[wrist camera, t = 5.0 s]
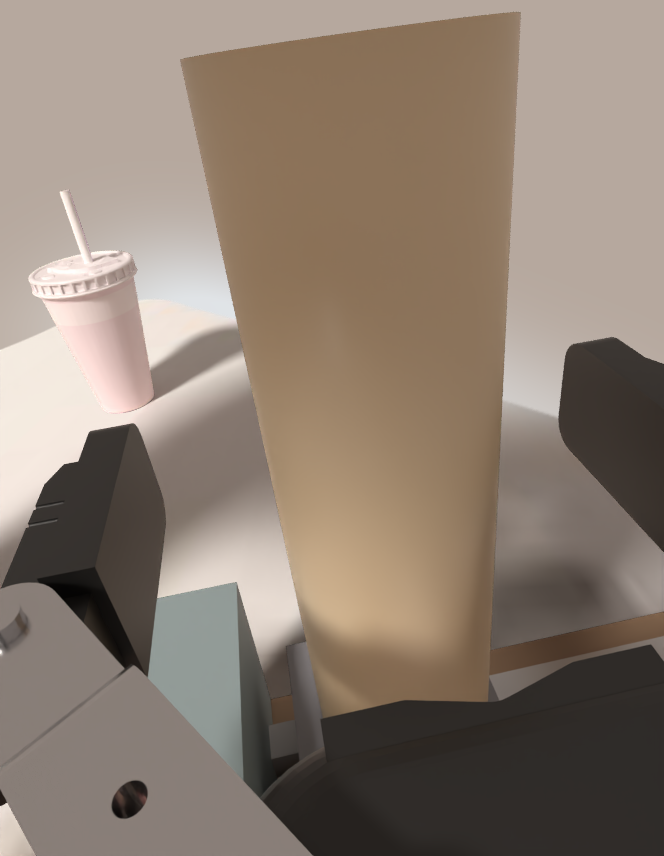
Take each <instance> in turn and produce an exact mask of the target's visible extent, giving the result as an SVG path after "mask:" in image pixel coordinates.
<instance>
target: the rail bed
mask: <svg viewBox="0 0 664 856" xmlns="http://www.w3.org/2000/svg"><path fill="white" fill-rule="evenodd" d="M650 644H651V645H652V646H653V647H654V649H655V650H656V651H657V653H658V654H659V655H660V657H661V658H662V659H663V661H664V612H660V613H656V614H651V615H647V616H642V617H638V618H633V619H629V620H624V621H620V622H615V623H611V624H606V625H602V626H597V627H593V628H588V629H584V630H579V631H575V632H570V633H566V634H561V635H557V636H552V637H548V638H543V639H539V640H535V641H530V642H526V643H521V644H517V645H512V646H508V647H503V648H499V649H494V650H490V668H489V678H490V680H491V682H492V685H493V687H494V689H495V691H496V694H497V696H498V698H499V700H503V699H505V698H507V697H509V696H511V695H513V694H515V693H517V692H518V691H520V690H522V689H524V688H526V687H528V686H529V685H531V684H533V683H535V682H537V681H539V680H540V679H542V678H544V677H546V676H548V675H550V674H551V673H553V672H555V671H557V670H559V669H561V668H562V667H564V666H566V665H568V664H570V663H572V662H575V661H579V660H583V659H588V658H592V657H597V656H601V655H606V654H610V653H614V652H619V651H623V650H628V649H632V648H636V647H641V646H645V645H650ZM271 709H272V721H273V725H269V736H270V749H271V760H272V763H273V766H274V769H275V772H276V775H277V779H278V778H279V777H280V776H282V775H283V774H284V773H285V772H286V771H287V770H288V769H289V768H291V767H292V766H294V765H295V764H297V763H298V762H299V761H300V760H299V752H298V743H297V735H296V726H295V718H294V709H293V701H292V695H288V696H283V697H279V698H274V699H271Z"/></svg>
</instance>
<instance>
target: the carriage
mask: <svg viewBox="0 0 664 856" xmlns="http://www.w3.org/2000/svg"><path fill="white" fill-rule="evenodd" d="M520 19H521V12H510V13H500V14H491V15H481V16H473V17H464V18H457V19H449V20H440V21H433V22H425V23H417V24H409V25H402V26H395V27H387V28H379V29H372V30H365V31H358V32H351V33H343V34H336V35H330V36H322V37H316V38H309V39H301V40H295V41H288V42H281V43H275V44H268V45H261V46H255V47H248V48H242V49H235V50H229V51H223V52H217V53H211V54H205V55H199V56H194V57H189V58H184V59H181V60H180V61H181V66H182V71H183V75H184V80H185V85H186V89H187V93H188V98H189V103H190V107H191V112H192V116H193V121H194V126H195V131H196V135H197V140H198V144H199V149H200V154H201V158H202V163H203V167H204V172H205V177H206V181H207V185H208V191H209V195H210V200H211V204H212V209H213V214H214V218H215V223H216V228H217V232H218V237H219V241H220V246H221V251H222V255H223V260H224V264H225V269H226V274H227V278H228V283H229V287H230V292H231V297H232V301H233V306H234V311H235V315H236V320H237V324H238V329H239V334H240V338H241V343H242V348H243V352H244V357H245V361H246V366H247V371H248V375H249V380H250V384H251V389H252V394H253V398H254V403H255V407H256V412H257V417H258V421H259V426H260V431H261V435H262V440H263V444H264V449H265V454H266V458H267V463H268V467H269V472H270V477H271V481H272V486H273V491H274V495H275V500H276V504H277V509H278V514H279V518H280V523H281V527H282V532H283V537H284V541H285V546H286V551H287V555H288V560H289V564H290V569H291V574H292V578H293V583H294V587H295V592H296V597H297V601H298V606H299V610H300V615H301V620H302V624H303V629H304V634H305V638H306V642H302V643H298V644H293V645H289V646H286V650H287V658H288V667H289V675H290V684H291V692H292V701H293V709H294V718H295V726H296V735H297V743H298V752H299V760H300V761H301V760H302V759H304V758H305V757H306V756H308V755H310V754H312V753H313V752H315V751H317V750H319V749H321V748H322V747H324V741H323V735H322V729H321V722H320V719H323V718H327V717H332V716H336V715H340V714H345V713H349V712H354V711H358V710H363V709H367V708H371V707H376V706H380V705H385V704H389V703H393V702H398V701H402V700H422V701H466V702H496V701H500V700H499V698H498V696H497V694H496V691H495V689H494V687H493V685H492V682H491V680H490V678H489V668H490V647H491V626H492V605H493V584H494V563H495V542H496V521H497V500H498V479H499V458H500V438H501V417H502V396H503V375H504V353H505V332H506V310H507V290H508V270H509V269H508V268H509V249H510V228H511V227H510V226H511V207H512V185H513V165H514V144H515V123H516V101H517V82H518V61H519V39H520Z"/></svg>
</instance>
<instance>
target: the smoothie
mask: <svg viewBox="0 0 664 856" xmlns="http://www.w3.org/2000/svg"><path fill="white" fill-rule="evenodd" d="M60 195H61V198H62V200H63V203H64V206H65V209H66V212H67V214H68V218H69V221H70V223H71V226H72V229H73V232H74V235H75V238H76V241H77V244H78V247H79V249H80V252H81V254H80V255H75V256H72V257H67V258H64V259H60V260H57V261H54V262H51V263H49V264H47V265H44V266H42V267H40V268H38V269H37V270H35V271H34V272H32V273H31V275H30V276H29V278H28V280H29V282H30V284H31V287H32V290H33V291H32V293H33V295H35V296H36V297H39V298H41V299H42V300H43V302H44V304H45V306H46V308H47V309H48V311H49V313H50V315H51V317H52V319H53V321H54V322H55V324H56V326H57V328H58V329H59V331H60V333H61V335H62V337H63V339H64V340H65V342H66V344H67V346H68V348H69V349H70V351H71V353H72V355H73V357H74V359H75V360H76V362H77V364H78V366H79V368H80V369H81V371H82V373H83V375H84V377H85V379H86V380H87V382H88V384H89V386H90V388H91V389H92V391H93V393H94V395H95V397H96V399H97V400H98V402H99V404H100V406H101V408H102V409H103V410H104V411H105V412H108V413H124V412H129V411H133V410H135V409H138V408H140V407H142V406H144V405H146V404H147V403H148V402H150V401H151V400H152V398H153V397H154V389H153V384H152V378H151V372H150V367H149V361H148V355H147V350H146V344H145V338H144V333H143V327H142V321H141V316H140V310H139V304H138V298H137V292H136V287H135V282H134V275H135V274H136V272H137V268H136V267H135V264H134V260H133V257H132V255H131V254H129V253H127V252H124V251H98V252H90V250H89V247H88V244H87V241H86V238H85V235H84V232H83V229H82V226H81V223H80V220H79V217H78V214H77V212H76V208H75V205H74V202H73V199H72V196H71V193H70V190H63V191H60Z"/></svg>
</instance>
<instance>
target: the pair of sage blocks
mask: <svg viewBox="0 0 664 856" xmlns="http://www.w3.org/2000/svg"><path fill="white" fill-rule="evenodd" d="M148 679H149V680H150V681H151V682H152V683H153V684H154V685H155V686H156V687H157V688H158V689H159V691H160V692H161V693H162V694H163V695H164V696H165V697H166V698H167V699H168V700H169V701H170V702H171V703H172V705H173V706H174V707H175V708H176V709H177V710H178V711H179V712H180V713H181V714H182V715H183V716H184V717H185V719H186V720H187V721H188V722H189V723H190V724H191V725H192V726H193V727H194V728H195V729H196V730H197V731H198V733H199V734H200V735H201V736H202V737H203V738H204V739H205V740H206V741H207V742H208V743H209V744H210V745H211V747H212V748H213V749H214V750H215V751H216V752H217V753H218V754H219V755H220V756H221V757H222V758H223V759H224V761H225V762H226V763H227V764H228V765H229V766H230V767H231V768H232V769H233V770H234V771H235V772H236V773H237V775H238V776H239V777H240V778H241V779H242V780H243V781H244V782H245V783H246V784H247V785H248V786H249V787H250V789H251V790H252V791H253V792H254V793H255V794H256V795H257V796H258V797H259V798H260V797H261V796H262V795H263V794H264V792H265V791H266V790H267V789H268V788H269V787H270V786H271V785H272V784H273V783H274V782H275V781H276V780H277V775H276V772H275V769H274V766H273V763H272V760H271V749H270V736H269V725H273V721H272V709H271V699H270V695H269V692H268V688H267V685H266V682H265V678H264V675H263V671H262V668H261V664H260V661H259V658H258V654H257V651H256V647H255V644H254V640H253V637H252V634H251V630H250V627H249V623H248V620H247V616H246V613H245V610H244V606H243V603H242V599H241V596H240V592H239V589H238V586H237V582H235V583H230V584H225V585H220V586H215V587H210V588H205V589H201V590H196V591H191V592H186V593H181V594H176V595H172V596H167V597H162V598H157V603H156V612H155V620H154V629H153V637H152V646H151V654H150V663H149V672H148Z"/></svg>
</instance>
